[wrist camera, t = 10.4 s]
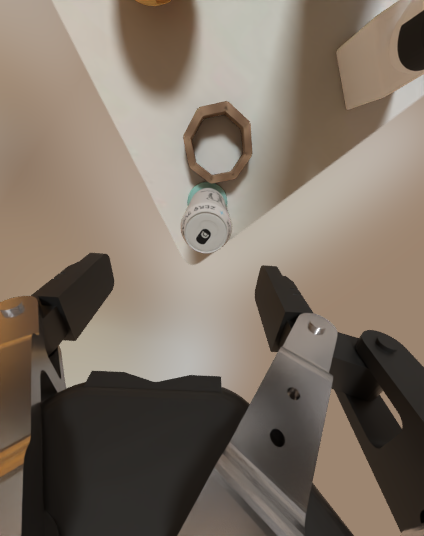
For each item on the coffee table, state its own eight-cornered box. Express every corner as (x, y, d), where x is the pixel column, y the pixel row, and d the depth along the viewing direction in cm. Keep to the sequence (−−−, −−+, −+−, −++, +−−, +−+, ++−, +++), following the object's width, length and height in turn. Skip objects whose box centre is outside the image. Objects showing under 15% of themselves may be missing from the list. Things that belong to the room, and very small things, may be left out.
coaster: (201, 172, 32) (201, 172, 32) (235, 198, 34) (235, 198, 34) (180, 208, 35) (180, 208, 35) (212, 229, 37) (212, 230, 37)
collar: (210, 90, 27) (210, 84, 25) (261, 137, 30) (265, 136, 28) (175, 155, 31) (173, 155, 29) (223, 192, 34) (224, 194, 32)
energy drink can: (231, 201, 34) (244, 226, 21) (212, 228, 37) (212, 267, 23) (203, 179, 32) (197, 193, 19) (184, 209, 35) (168, 240, 22)
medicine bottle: (399, 79, 27) (519, 29, 16) (345, 111, 28) (423, 84, 18) (394, 10, 24) (538, -106, 13) (334, 51, 25) (420, -23, 15)
